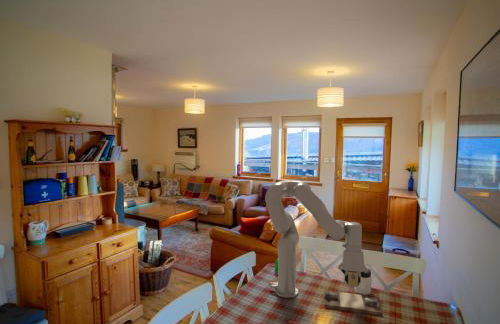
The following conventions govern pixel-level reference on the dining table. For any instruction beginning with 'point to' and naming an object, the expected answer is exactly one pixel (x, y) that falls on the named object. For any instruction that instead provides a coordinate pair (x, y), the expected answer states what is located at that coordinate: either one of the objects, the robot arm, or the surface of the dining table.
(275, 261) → the mechanical part
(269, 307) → the dining table surface
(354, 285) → the brass coupler
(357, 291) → the jar
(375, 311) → the coupling jig
